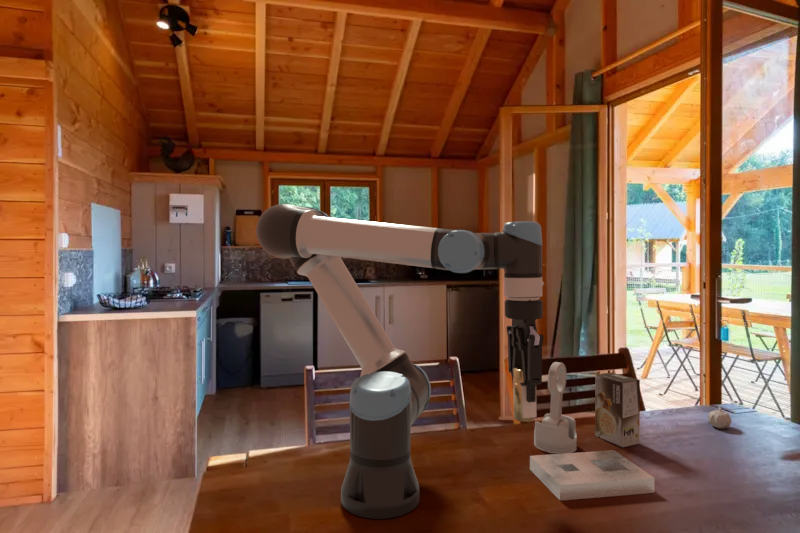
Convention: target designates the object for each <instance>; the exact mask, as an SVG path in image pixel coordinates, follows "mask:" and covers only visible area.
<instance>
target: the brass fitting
mask: <svg viewBox="0 0 800 533" xmlns="http://www.w3.org/2000/svg"><path fill="white" fill-rule="evenodd" d="M513 372H514V378H513V379H514V401H513V419H514V420H515V421H518V422H521V423H522V422H524V423H525V422H526V423H528V422H533V421H535V417H531V418H523V417H522V386H521V384H520V383H523V382H524V379H523V367H517V368H514V369H513Z"/></svg>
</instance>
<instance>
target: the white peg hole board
mask: <svg viewBox="0 0 800 533" xmlns="http://www.w3.org/2000/svg"><path fill="white" fill-rule="evenodd" d="M529 470H530V471H531V473H533V474H534V475H535V477H537V478H538V480H539V481H540V482H542V484H544V486H545V487H546V488H547V489H548V490H549V492H551V494H553V495H554V496H555V497H556V498H557V499H558V500H559V501H569V500H571V501H572V500H581V499H582V500H583V499H594V498H595V499H596V498H606V497H619V496H630V495H631V496H632V495H643V494H645V495H646V494H654V493H655V477H654V476H653V475H651V474H649V473H648V472H647V471H645V470H644V469H642V468H641V467H640V466H638V465H637V464H635V463H634V462H632V461H630V460H629V459H627V458H626V457H625V456H623V455H622V454H620V453H619V452H618V451H616V450H614V449H610V450H597V451H581V452H572V453H564V454H554V453H549V454H537V455H529Z"/></svg>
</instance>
